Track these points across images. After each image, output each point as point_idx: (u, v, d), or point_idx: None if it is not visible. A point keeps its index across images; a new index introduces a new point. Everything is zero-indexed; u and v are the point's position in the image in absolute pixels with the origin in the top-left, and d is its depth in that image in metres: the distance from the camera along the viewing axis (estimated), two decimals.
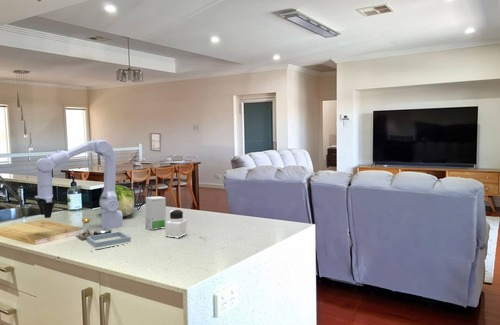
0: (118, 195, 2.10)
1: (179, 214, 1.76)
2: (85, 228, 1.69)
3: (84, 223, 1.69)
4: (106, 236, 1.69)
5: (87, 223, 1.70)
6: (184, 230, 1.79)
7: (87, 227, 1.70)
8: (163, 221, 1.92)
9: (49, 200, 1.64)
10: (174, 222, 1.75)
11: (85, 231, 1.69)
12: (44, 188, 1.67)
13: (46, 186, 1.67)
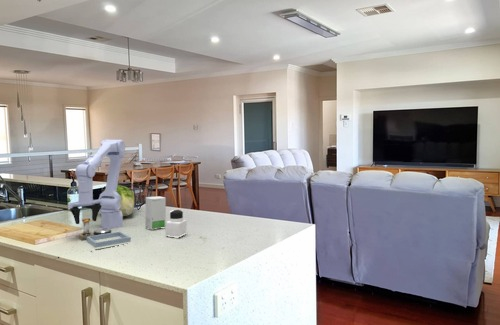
0: None
1: (179, 214, 1.76)
2: (85, 228, 1.69)
3: (84, 223, 1.69)
4: (106, 236, 1.69)
5: (87, 223, 1.70)
6: (184, 230, 1.79)
7: (87, 227, 1.70)
8: (163, 221, 1.92)
9: (69, 206, 1.64)
10: (174, 222, 1.75)
11: (85, 231, 1.69)
12: None
13: (79, 192, 1.67)
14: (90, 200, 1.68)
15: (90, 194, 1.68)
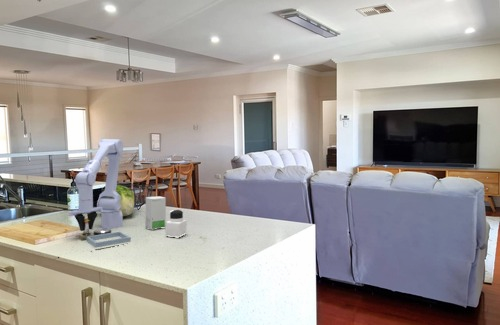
0: None
1: (179, 214, 1.76)
2: (85, 228, 1.69)
3: (84, 223, 1.69)
4: (106, 236, 1.69)
5: (87, 223, 1.70)
6: (184, 230, 1.79)
7: (87, 227, 1.70)
8: (163, 221, 1.92)
9: (69, 214, 1.64)
10: (174, 222, 1.75)
11: (85, 231, 1.69)
12: None
13: (79, 200, 1.67)
14: (90, 208, 1.69)
15: (90, 202, 1.68)
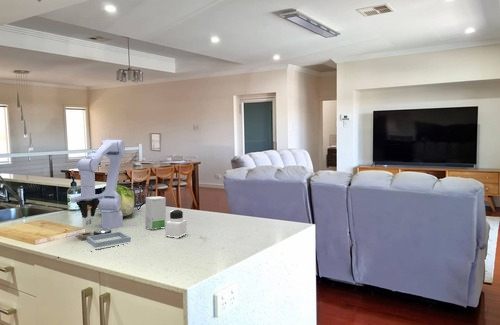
0: None
1: (179, 214, 1.76)
2: (87, 215, 1.68)
3: None
4: (106, 236, 1.69)
5: (89, 210, 1.68)
6: (184, 230, 1.79)
7: (89, 214, 1.69)
8: (163, 221, 1.92)
9: (72, 200, 1.63)
10: (174, 222, 1.75)
11: (87, 218, 1.68)
12: (81, 188, 1.67)
13: (81, 186, 1.66)
14: (93, 194, 1.68)
15: (93, 188, 1.67)
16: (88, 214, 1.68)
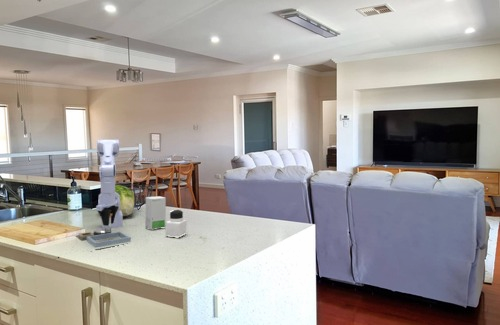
0: None
1: (179, 214, 1.76)
2: None
3: None
4: (106, 236, 1.69)
5: (110, 217, 1.64)
6: (184, 230, 1.79)
7: (110, 221, 1.64)
8: (163, 221, 1.92)
9: (98, 208, 1.57)
10: (174, 222, 1.75)
11: (108, 225, 1.64)
12: (102, 196, 1.61)
13: (104, 193, 1.61)
14: (114, 201, 1.64)
15: (114, 195, 1.64)
16: (109, 221, 1.64)
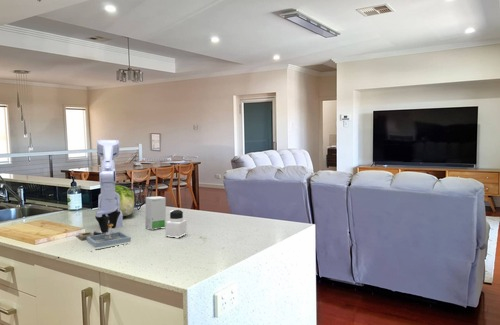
0: None
1: (179, 214, 1.76)
2: (109, 233, 1.64)
3: (108, 228, 1.64)
4: None
5: (111, 228, 1.65)
6: (184, 230, 1.79)
7: (110, 232, 1.65)
8: (163, 221, 1.92)
9: (98, 215, 1.57)
10: (174, 222, 1.75)
11: (109, 236, 1.64)
12: (102, 202, 1.61)
13: (104, 199, 1.61)
14: (115, 207, 1.64)
15: (114, 201, 1.64)
16: (110, 232, 1.64)
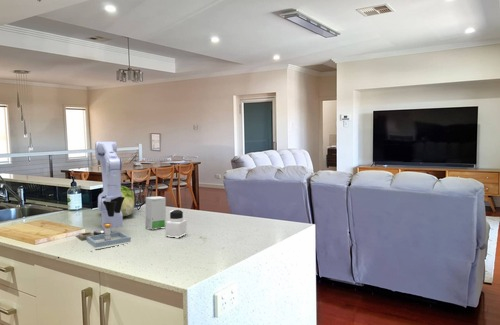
0: None
1: (179, 214, 1.76)
2: (108, 233, 1.64)
3: (107, 228, 1.64)
4: None
5: (110, 228, 1.64)
6: (184, 230, 1.79)
7: (110, 232, 1.65)
8: (163, 221, 1.92)
9: (107, 199, 1.67)
10: (174, 222, 1.75)
11: (108, 236, 1.64)
12: (109, 187, 1.71)
13: (111, 185, 1.71)
14: (120, 192, 1.75)
15: (120, 187, 1.75)
16: (109, 232, 1.64)
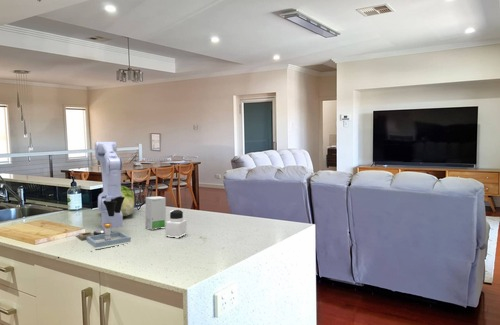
0: None
1: (179, 214, 1.76)
2: (108, 233, 1.64)
3: (107, 228, 1.64)
4: None
5: (110, 228, 1.64)
6: (184, 230, 1.79)
7: (110, 232, 1.65)
8: (163, 221, 1.92)
9: (108, 199, 1.67)
10: (174, 222, 1.75)
11: (108, 236, 1.64)
12: (109, 187, 1.71)
13: (111, 185, 1.71)
14: (120, 192, 1.75)
15: (120, 186, 1.75)
16: (109, 232, 1.64)
